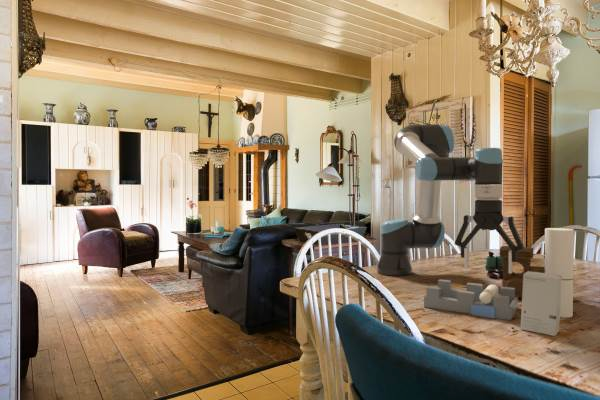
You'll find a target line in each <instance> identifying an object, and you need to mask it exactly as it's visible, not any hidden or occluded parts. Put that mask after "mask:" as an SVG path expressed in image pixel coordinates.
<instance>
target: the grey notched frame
mask: <svg viewBox="0 0 600 400" xmlns="http://www.w3.org/2000/svg"><path fill="white" fill-rule="evenodd" d="M483 291H484V284H482V283H476V282H467V283H466V290H463V289H455V288H452V280H450V279H438V280H437V286H427V287H426V294H425V295H424V296H423V307H424V308H430V309H435V310H443V311H448V310H449V312H454V311H455V313H461V314H466V315H467V314H469V315H471V316H477V317H483V318H484V317H485V318H489V319H500V320H507V321H512V319H513V318H514V315H515V314H516V312H517V310H518V305H519V304H518V303H519V298H518V297H515V288H511V287H502V286H501V287H500V289H499V292H500V293H499V294H497V295H494V296H493V300H492V302H491V303H489V304H484V303H482V302H481V301H480V298H479V297H480V294H481V293H482V292H483Z"/></svg>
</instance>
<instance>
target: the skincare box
mask: <svg viewBox="0 0 600 400" xmlns="http://www.w3.org/2000/svg"><path fill="white" fill-rule="evenodd" d="M561 286H562V276H559V275H553V274H547V273H539V272H531V271H528V272H526V273H524V275H523V292H522V298H521V314H520V329H521V330H522V331H527V332H533V333H538V334H544V335H548V336H552V337H556V336H557V334H558V332H559V331H560V320H561V319H560V318H561V317H560V304H561Z"/></svg>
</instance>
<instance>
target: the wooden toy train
mask: <svg viewBox="0 0 600 400" xmlns="http://www.w3.org/2000/svg"><path fill="white" fill-rule="evenodd" d="M510 250H511V249H510V247H509V246H508V245H502V246H500V247H499V253H500V254H499V256H500V257H502V266H503V278H504V279H502V284H501V287H511V288H515V297H518V299H522V292H523V275H524V273H526V272H528V271H531V272H539V273H545V266H535V265H531V263H532V262H531V260H533V258H534V247H529V246H524V248H523V249H521V250H517V260H516V262H515V263H518V264H520V265H521V266H522V267H523V271H522V272H514V271H513V272H512V273H511V274H510V273H508V269H509V251H510ZM543 259H544V260H545V255H544V256H543Z"/></svg>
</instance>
